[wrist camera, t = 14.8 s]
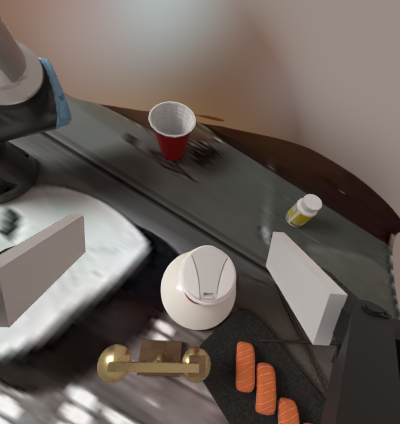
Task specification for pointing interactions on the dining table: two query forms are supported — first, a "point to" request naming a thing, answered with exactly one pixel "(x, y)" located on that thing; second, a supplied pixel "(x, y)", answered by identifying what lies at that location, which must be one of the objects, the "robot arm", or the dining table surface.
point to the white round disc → (184, 308)
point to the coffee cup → (207, 275)
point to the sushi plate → (259, 374)
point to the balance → (154, 361)
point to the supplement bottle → (303, 210)
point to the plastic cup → (172, 127)
